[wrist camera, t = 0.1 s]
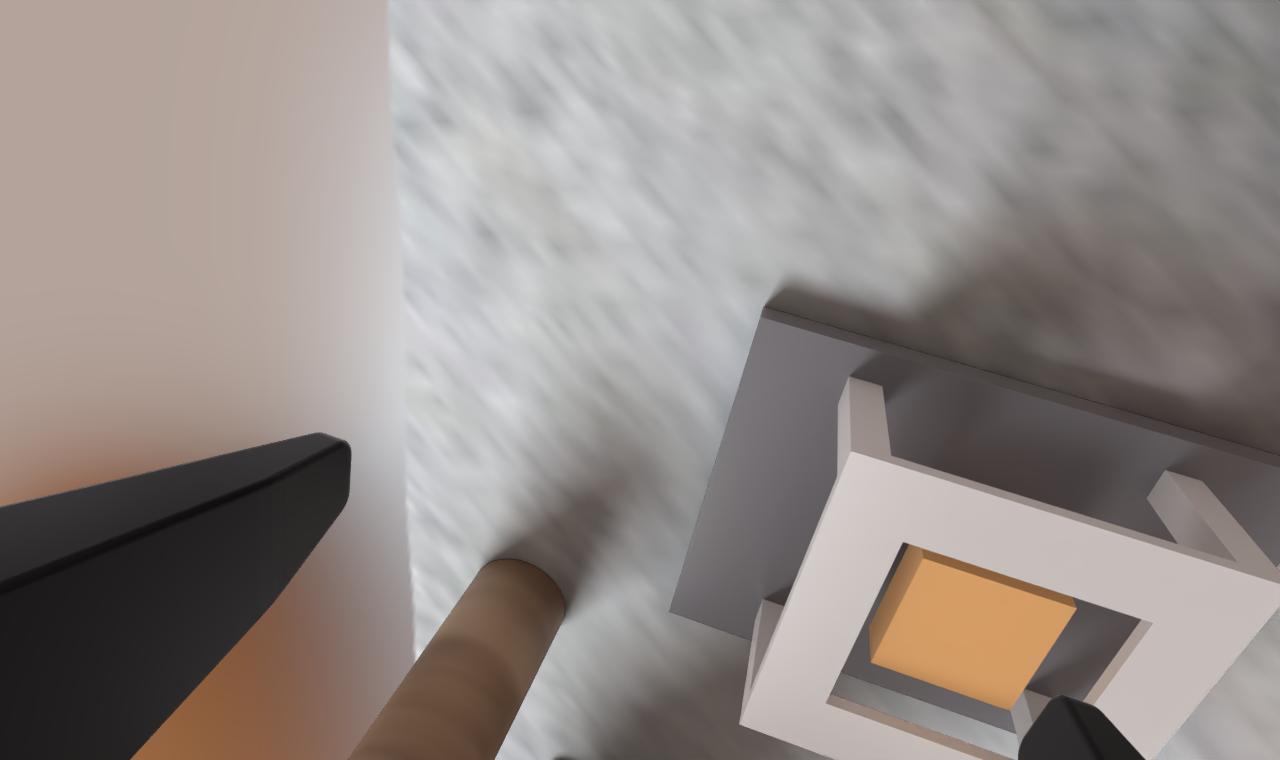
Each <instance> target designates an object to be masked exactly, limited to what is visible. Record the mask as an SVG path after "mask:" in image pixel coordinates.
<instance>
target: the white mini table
mask: <svg viewBox="0 0 1280 760" xmlns="http://www.w3.org/2000/svg"><path fill="white" fill-rule="evenodd" d="M909 544H911V545H914V546H917V547H920V548H923V549H926V550H929V551H933V552H936V553H939V554H942V555H945V556H948V557H951V558H954V559H957V560H960V561H963V562H966V563H970V564H973V565H976V566H979V567H982V568H985V569H988V570H991V571H994V572H997V573H1000V574H1004V575H1007V576H1010V577H1013V578H1016V579H1019V580H1022V581H1025V582H1028V583H1031V584H1034V585H1037V586H1041V587H1044V588H1047V589H1050V590H1053V591H1056V592H1059V593H1062V594H1065V595H1068V596H1071V597H1072V598H1073V600H1074V603H1075V605H1076V607H1077V609H1076V611H1075V612H1074V614H1073V615H1072V617H1071V618H1070V620H1069V621H1068V623H1067V624H1066V626H1065V627H1064V629H1063V631H1062V632H1061V634H1060V635H1059V637H1058V638H1057V640H1056V641H1055V643H1054V644H1053V646H1052V647H1051V649H1050V650H1049V652H1048V653H1047V655H1046V657H1045V658H1044V660H1043V661H1042V663H1041V664H1040V666H1039V667H1038V669H1037V670H1036V672H1035V673H1034V675H1033V676H1032V678H1031V679H1030V681H1029V682H1028V684H1027V686H1026V687H1025V689H1024V690H1023V692H1022V693H1021V695H1020V696H1019V698H1018V699H1017V701H1016V702H1015V704H1014V705H1013V707H1012V708H1011V710H1010V711H1009V710H1006V709H1003V708H1000V707H997V706H994V705H991V704H988V703H986V702H983V701H980V700H977V699H974V698H971V697H968V696H965V695H963V694H960V693H957V692H954V691H951V690H948V689H945V688H942V687H940V686H937V685H934V684H931V683H928V682H925V681H922V680H919V679H917V678H914V677H911V676H908V675H905V674H902V673H899V672H896V671H894V670H891V669H888V668H885V667H882V666H879V665H876V664H873V663H871V657H870V637H869V626H870V624H871V621H872V619H873V617H874V615H875V613H876V611H877V609H878V607H879V605H880V603H881V601H882V599H883V597H884V595H885V593H886V591H887V589H888V587H889V584H890V582H891V580H892V578H893V576H894V574H895V572H896V570H897V568H898V566H899V564H900V562H901V560H902V558H903V556H904V554H905V552H906V549H907V547H908V545H909ZM1279 563H1280V456H1279V455H1276V454H1273V453H1269V452H1266V451H1262V450H1259V449H1255V448H1252V447H1248V446H1245V445H1241V444H1238V443H1234V442H1231V441H1227V440H1224V439H1221V438H1217V437H1214V436H1210V435H1207V434H1203V433H1200V432H1196V431H1193V430H1189V429H1186V428H1182V427H1179V426H1175V425H1172V424H1169V423H1165V422H1162V421H1158V420H1155V419H1151V418H1148V417H1144V416H1141V415H1137V414H1134V413H1130V412H1127V411H1123V410H1120V409H1117V408H1113V407H1110V406H1106V405H1103V404H1099V403H1096V402H1092V401H1089V400H1085V399H1082V398H1078V397H1075V396H1071V395H1068V394H1065V393H1061V392H1058V391H1054V390H1051V389H1047V388H1044V387H1040V386H1037V385H1033V384H1030V383H1026V382H1023V381H1019V380H1016V379H1013V378H1009V377H1006V376H1002V375H999V374H995V373H992V372H988V371H985V370H981V369H978V368H974V367H971V366H967V365H964V364H961V363H957V362H954V361H950V360H947V359H943V358H940V357H936V356H933V355H929V354H926V353H922V352H919V351H916V350H912V349H909V348H905V347H902V346H898V345H895V344H891V343H888V342H884V341H881V340H877V339H874V338H870V337H867V336H864V335H860V334H857V333H853V332H850V331H846V330H843V329H839V328H836V327H832V326H829V325H825V324H822V323H818V322H815V321H812V320H808V319H805V318H801V317H798V316H794V315H791V314H787V313H784V312H780V311H777V310H773V309H770V308H766V307H763V310H762V314H761V317H760V320H759V323H758V327H757V330H756V333H755V336H754V339H753V343H752V346H751V349H750V352H749V356H748V359H747V362H746V365H745V368H744V372H743V375H742V378H741V381H740V385H739V388H738V391H737V394H736V397H735V401H734V404H733V407H732V410H731V414H730V417H729V420H728V423H727V427H726V430H725V433H724V436H723V439H722V443H721V446H720V449H719V452H718V456H717V459H716V462H715V465H714V468H713V472H712V475H711V478H710V481H709V485H708V488H707V491H706V494H705V497H704V501H703V504H702V507H701V510H700V514H699V517H698V520H697V523H696V527H695V530H694V533H693V536H692V539H691V543H690V546H689V549H688V552H687V556H686V559H685V562H684V565H683V568H682V572H681V575H680V578H679V581H678V585H677V588H676V591H675V594H674V598H673V601H672V604H671V607H670V611H669V612H671V613H674V614H677V615H680V616H682V617H685V618H688V619H691V620H694V621H697V622H700V623H702V624H705V625H708V626H711V627H714V628H717V629H719V630H722V631H725V632H728V633H731V634H734V635H736V636H739V637H742V638H745V639H748V640H751V641H752V643H751V650H750V657H749V663H748V670H747V676H746V683H745V690H744V696H743V703H742V710H741V716H740V723H739V725H742V726H745V727H747V728H750V729H753V730H756V731H758V732H761V733H764V734H767V735H769V736H772V737H775V738H777V739H780V740H783V741H786V742H788V743H791V744H794V745H796V746H799V747H802V748H805V749H807V750H810V751H813V752H815V753H818V754H821V755H824V756H826V757H829V758H832V759H834V760H1014V759H1011V758H1008V757H1005V756H1003V755H1000V754H997V753H994V752H991V751H989V750H986V749H983V748H980V747H977V746H974V745H972V744H969V743H966V742H963V741H960V740H958V739H955V738H952V737H949V736H946V735H944V734H941V733H938V732H935V731H932V730H930V729H927V728H924V727H921V726H918V725H916V724H913V723H910V722H907V721H904V720H902V719H899V718H896V717H893V716H890V715H887V714H885V713H882V712H879V711H876V710H873V709H871V708H868V707H865V706H862V705H859V704H857V703H854V702H851V701H848V700H845V699H843V698H840V697H837V696H834V695H831V694H830V693H831V691H832V689H833V687H834V685H835V682H836V680H837V678H838V676H839V674H840V672H842V673H845V674H847V675H850V676H853V677H856V678H859V679H862V680H864V681H867V682H870V683H873V684H876V685H879V686H882V687H884V688H887V689H890V690H893V691H896V692H899V693H901V694H904V695H907V696H910V697H913V698H916V699H918V700H921V701H924V702H927V703H930V704H933V705H936V706H938V707H941V708H944V709H947V710H950V711H953V712H955V713H958V714H961V715H964V716H967V717H970V718H973V719H975V720H978V721H981V722H984V723H987V724H990V725H992V726H995V727H998V728H1001V729H1004V730H1007V731H1009V732H1012V733H1015V734H1017V738H1018V742H1019V746H1020V744H1021V741H1022V739H1023V737H1024V736H1025V734H1026V733H1027V731H1028V730H1029V729H1030V727H1031V726H1032V724H1033V723H1034V721H1035V720H1036V719H1037V717H1038V716H1039V714H1040V713H1041V712H1042V710H1043V709H1044V707H1045V706H1046V705H1047V703H1048V702H1049V701H1050V700H1051V699H1052V698H1053V697H1055V696H1056V695H1066V696H1069V697H1072V698H1075V699H1077V700H1080V701H1083V702H1086V703H1089V704H1091V705H1094V706H1095V707H1097V708H1098V709H1100V710H1101V711H1102V712H1103V713H1104V715H1105V716H1106V717H1107V718H1108V719H1109V720H1110V721H1111V722H1112V723H1113V724H1114V725H1115V727H1116V728H1117V729H1118V730H1119V731H1120V732H1121V733H1122V734H1123V735H1124V736H1125V738H1126V739H1127V740H1128V741H1129V742H1130V743H1131V744H1132V745H1133V746H1134V747H1135V748H1136V750H1137V751H1138V752H1139V753H1140V754H1141V755H1142V756H1143V757H1144V758H1145V759H1146V760H1153V759H1154V758H1155V757H1156V755H1157V754H1158V753H1159V752H1160V751H1161V749H1162V748H1163V747H1164V746H1165V745H1166V743H1167V742H1168V741H1169V740H1170V739H1171V737H1172V736H1173V735H1174V734H1175V732H1176V731H1177V730H1178V729H1179V728H1180V726H1181V725H1182V724H1183V723H1184V722H1185V720H1186V719H1187V718H1188V717H1189V715H1190V714H1191V713H1192V712H1193V711H1194V709H1195V708H1196V707H1197V706H1198V705H1199V703H1200V702H1201V701H1202V700H1203V699H1204V697H1205V696H1206V695H1207V694H1208V692H1209V691H1210V690H1211V689H1212V688H1213V686H1214V685H1215V684H1216V683H1217V682H1218V680H1219V679H1220V678H1221V677H1222V675H1223V674H1224V673H1225V672H1226V671H1227V669H1228V668H1229V667H1230V666H1231V665H1232V663H1233V662H1234V661H1235V660H1236V659H1237V657H1238V656H1239V655H1240V654H1241V652H1242V651H1243V650H1244V649H1245V648H1246V646H1247V645H1248V644H1249V643H1250V642H1251V640H1252V639H1253V638H1254V637H1255V636H1256V634H1257V633H1258V632H1259V631H1260V629H1261V628H1262V627H1263V626H1264V625H1265V623H1266V622H1267V621H1268V620H1269V619H1270V617H1271V616H1272V615H1273V614H1274V612H1275V611H1276V610H1277V609H1278V608H1279V606H1280V571H1279V570H1278V569H1277V568H1276V567H1277V566H1278V564H1279Z"/></svg>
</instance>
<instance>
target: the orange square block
mask: <svg viewBox="0 0 1280 760" xmlns="http://www.w3.org/2000/svg"><path fill="white" fill-rule="evenodd" d="M1076 609H1077V607H1076V605H1075V603H1074V600H1073V598H1072V597H1071V596H1068V595H1065V594H1062V593H1059V592H1056V591H1053V590H1050V589H1047V588H1044V587H1041V586H1037V585H1034V584H1031V583H1028V582H1025V581H1022V580H1019V579H1016V578H1013V577H1010V576H1007V575H1004V574H1000V573H997V572H994V571H991V570H988V569H985V568H982V567H979V566H976V565H973V564H970V563H966V562H963V561H960V560H957V559H954V558H951V557H948V556H945V555H942V554H939V553H936V552H933V551H929V550H926V549H923V548H920V547H917V546H914V545H911V544H909V545H908V547H907V549H906V552H905V554H904V556H903V558H902V560H901V562H900V564H899V566H898V568H897V570H896V572H895V574H894V576H893V578H892V580H891V582H890V584H889V587H888V589H887V591H886V593H885V595H884V597H883V599H882V601H881V603H880V605H879V607H878V609H877V611H876V613H875V615H874V617H873V619H872V621H871V624H870V626H869V637H870V657H871V663H873V664H876V665H879V666H882V667H885V668H888V669H891V670H894V671H896V672H899V673H902V674H905V675H908V676H911V677H914V678H917V679H919V680H922V681H925V682H928V683H931V684H934V685H937V686H940V687H942V688H945V689H948V690H951V691H954V692H957V693H960V694H963V695H965V696H968V697H971V698H974V699H977V700H980V701H983V702H986V703H988V704H991V705H994V706H997V707H1000V708H1003V709H1006V710H1009V711H1010V710H1011V708H1012V707H1013V705H1014V704H1015V702H1016V701H1017V699H1018V698H1019V696H1020V695H1021V693H1022V692H1023V690H1024V689H1025V687H1026V686H1027V684H1028V682H1029V681H1030V679H1031V678H1032V676H1033V675H1034V673H1035V672H1036V670H1037V669H1038V667H1039V666H1040V664H1041V663H1042V661H1043V660H1044V658H1045V657H1046V655H1047V653H1048V652H1049V650H1050V649H1051V647H1052V646H1053V644H1054V643H1055V641H1056V640H1057V638H1058V637H1059V635H1060V634H1061V632H1062V631H1063V629H1064V627H1065V626H1066V624H1067V623H1068V621H1069V620H1070V618H1071V617H1072V615H1073V614H1074V612H1075V611H1076Z"/></svg>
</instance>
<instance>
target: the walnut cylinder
mask: <svg viewBox="0 0 1280 760" xmlns="http://www.w3.org/2000/svg"><path fill="white" fill-rule="evenodd" d="M564 615H565V603H564V599H563V596H562V593H561V591H560V589H559V588H558V586H557V585H556V584H555V582H554V581H553V580H552V579H551V578H550V577H549V576H548V575H547V574H546V573H544V572H543V571H542V570H540V569H539V568H537V567H535V566H533V565H531V564H529V563H526V562H523V561H520V560H514V559H501V560H496V561H493V562H490V563H488V564H487V565H485V566H484V567H483V568H482V569H481V570H480V571H479V573H478V574H477V575H476V577H475V578H474V580H473V581H472V583H471V584H470V585H469V587H468V588H467V590H466V591H465V593H464V594H463V595H462V597H461V598H460V600H459V601H458V603H457V604H456V605H455V607H454V608H453V610H452V611H451V613H450V614H449V615H448V617H447V618H446V620H445V621H444V623H443V624H442V625H441V627H440V628H439V630H438V631H437V633H436V634H435V635H434V637H433V638H432V640H431V641H430V643H429V644H428V645H427V647H426V648H425V650H424V651H423V653H422V654H421V655H420V657H419V658H418V660H417V661H416V663H415V664H414V665H413V667H412V668H411V670H410V671H409V673H408V674H407V675H406V677H405V678H404V680H403V681H402V683H401V684H400V686H399V687H398V688H397V690H396V691H395V693H394V694H393V696H392V697H391V698H390V700H389V701H388V703H387V704H386V706H385V707H384V708H383V710H382V711H381V713H380V714H379V715H378V717H377V718H376V720H375V721H374V723H373V724H372V725H371V727H370V728H369V730H368V731H367V733H366V734H365V735H364V737H363V738H362V740H361V741H360V743H359V744H358V745H357V747H356V748H355V750H354V751H353V753H352V754H351V756H350V757H349V758H348V760H495V757H496V755H497V753H498V751H499V749H500V747H501V745H502V743H503V741H504V739H505V737H506V735H507V733H508V731H509V729H510V727H511V725H512V723H513V721H514V719H515V717H516V715H517V713H518V711H519V709H520V707H521V705H522V703H523V700H524V698H525V696H526V694H527V692H528V690H529V688H530V686H531V684H532V682H533V680H534V678H535V676H536V674H537V672H538V670H539V668H540V666H541V664H542V662H543V660H544V658H545V656H546V654H547V652H548V650H549V648H550V645H551V643H552V641H553V639H554V637H555V635H556V633H557V631H558V629H559V627H560V625H561V623H562V621H563V619H564Z"/></svg>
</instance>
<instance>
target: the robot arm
mask: <svg viewBox="0 0 1280 760" xmlns="http://www.w3.org/2000/svg"><path fill="white" fill-rule="evenodd" d="M350 472H351V447H350V445H349V443H348V442H347V441H345V440H343V439H340V438H337V437H334V436H331V435H328V434H326V433H313V434H308V435H304V436H300V437H296V438H291V439H287V440H283V441H279V442H275V443H270V444H266V445H262V446H257V447H253V448H249V449H244V450H241V451H236V452H232V453H228V454H223V455H219V456H215V457H211V458H206V459H202V460H198V461H194V462H189V463H185V464H180V465H176V466H172V467H168V468H163V469H159V470H155V471H151V472H146V473H142V474H138V475H134V476H130V477H125V478H121V479H116V480H112V481H108V482H104V483H99V484H95V485H91V486H86V487H82V488H78V489H74V490H70V491H66V492H61V493H57V494H53V495H48V496H44V497H40V498H35V499H31V500H27V501H22V502H18V503H14V504H10V505H6V506H2V507H0V760H130V759H131V758H132V757H133V756H134V755H135V754H136V753H137V751H138V750H139V749H140V748H141V747H142V746H143V745H144V744H145V743H146V742H147V741H148V739H149V738H150V737H151V736H152V735H153V734H154V733H155V732H156V731H157V729H159V728H160V726H161V725H162V724H163V723H164V722H165V721H166V720H167V719H168V718H169V717H170V716H171V714H172V713H173V712H174V711H175V710H176V709H177V708H178V707H179V705H181V703H182V702H183V701H184V700H185V699H186V698H187V697H188V696H189V695H190V694H191V693H192V691H193V690H194V689H195V688H196V687H197V686H198V685H199V684H200V683H201V682H202V681H203V680H204V678H205V677H206V676H207V675H208V674H209V673H210V672H211V671H212V670H213V669H214V667H216V665H217V664H218V663H219V662H220V661H221V660H222V659H223V658H224V657H225V656H226V655H227V653H228V652H229V651H230V650H231V649H232V648H233V647H234V646H235V645H236V644H237V643H238V641H239V640H240V639H241V638H242V637H243V636H244V635H245V634H246V633H247V632H248V631H249V629H250V628H251V627H252V626H253V625H254V624H255V623H256V622H257V621H258V620H259V619H260V617H261V616H262V615H263V614H264V613H265V612H266V610H267V609H268V608H269V607H270V606H271V605H272V604H273V603H274V601H275V600H276V599H277V598H278V596H279V595H280V594H281V592H282V591H283V590H284V589H285V587H286V586H287V585H288V583H289V582H290V581H291V579H292V578H293V576H294V575H295V574H296V573H297V571H298V570H299V568H300V567H301V566H302V564H303V563H304V562H305V560H306V559H307V558H308V556H309V555H310V554H311V552H312V551H313V549H314V548H315V547H316V546H317V544H318V543H319V541H320V540H321V539H322V537H323V536H324V535H325V533H326V532H327V531H328V529H329V528H330V527H331V525H332V524H333V523H334V521H335V520H336V518H337V517H338V516H339V515H340V513H341V512H342V510H343V508H344V507H345V505H346V503H347V500H348V497H349V490H350ZM1018 760H1146V759H1145V758H1144V757H1143V756H1142V755H1141V754H1140V753H1139V752H1138V751H1137V750H1136V748H1135V747H1134V746H1133V745H1132V744H1131V743H1130V742H1129V741H1128V740H1127V739H1126V738H1125V736H1124V735H1123V734H1122V733H1121V732H1120V731H1119V730H1118V729H1117V728H1116V727H1115V725H1114V724H1113V723H1112V722H1111V721H1110V720H1109V719H1108V718H1107V717H1106V716H1105V715H1104V713H1103V712H1102V711H1101V710H1100V709H1098V708H1097V707H1095V706H1094V705H1091V704H1089V703H1086V702H1083V701H1080V700H1077V699H1075V698H1072V697H1069V696H1066V695H1056V696H1055V697H1053V698H1052V699H1051V700H1050V701H1049V702H1048V703H1047V705H1046V706H1045V707H1044V709H1043V710H1042V712H1041V713H1040V714H1039V716H1038V717H1037V719H1036V720H1035V721H1034V723H1033V724H1032V726H1031V727H1030V729H1029V730H1028V731H1027V733H1026V734H1025V736H1024V737H1023V739H1022V741H1021V744H1020V747H1019V753H1018Z"/></svg>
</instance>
